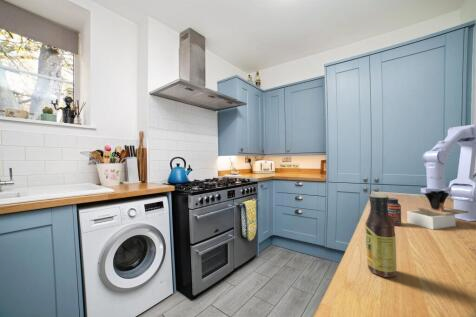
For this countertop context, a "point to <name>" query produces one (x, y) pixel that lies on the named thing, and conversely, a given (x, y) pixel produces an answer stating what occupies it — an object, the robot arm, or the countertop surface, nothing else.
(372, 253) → the sauce bottle
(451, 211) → the lid
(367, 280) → the countertop surface
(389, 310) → the countertop surface
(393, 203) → the supplement bottle
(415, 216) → the carton
